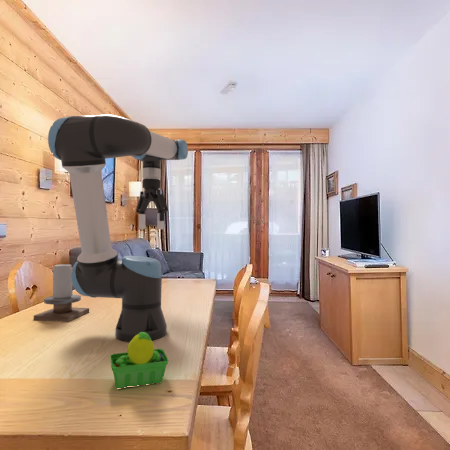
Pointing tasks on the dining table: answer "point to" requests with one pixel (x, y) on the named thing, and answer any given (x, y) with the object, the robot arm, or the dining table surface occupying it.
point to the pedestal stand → (61, 309)
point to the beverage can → (62, 281)
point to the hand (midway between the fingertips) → (151, 229)
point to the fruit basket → (139, 363)
